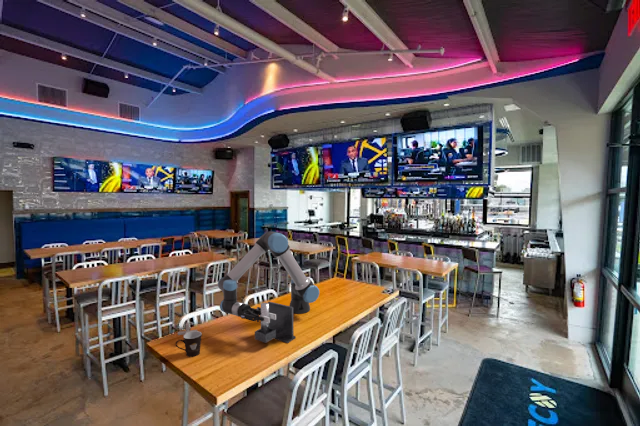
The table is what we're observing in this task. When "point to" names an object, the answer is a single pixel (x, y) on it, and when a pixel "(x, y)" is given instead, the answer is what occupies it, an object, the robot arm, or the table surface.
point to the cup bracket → (278, 324)
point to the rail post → (266, 313)
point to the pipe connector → (186, 330)
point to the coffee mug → (192, 343)
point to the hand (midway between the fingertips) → (272, 318)
